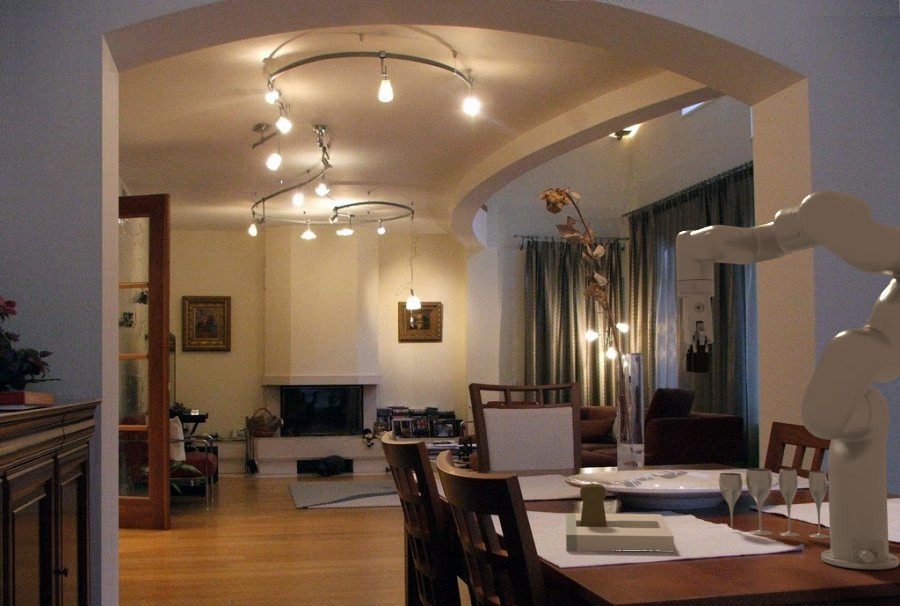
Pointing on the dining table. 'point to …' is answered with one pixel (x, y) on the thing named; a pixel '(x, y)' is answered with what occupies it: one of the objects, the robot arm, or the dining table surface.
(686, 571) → the dining table surface
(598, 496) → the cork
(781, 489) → the goblet set
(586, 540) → the beige flat rimmed tray
